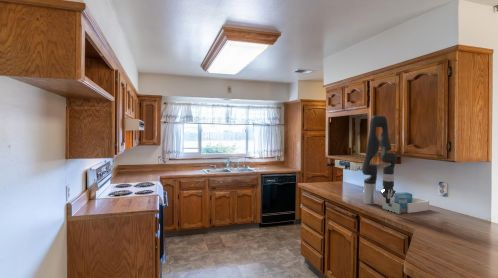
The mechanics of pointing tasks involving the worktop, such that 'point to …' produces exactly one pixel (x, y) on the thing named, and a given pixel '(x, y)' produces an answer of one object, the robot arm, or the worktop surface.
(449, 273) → the worktop surface
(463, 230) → the worktop surface
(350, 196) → the worktop surface
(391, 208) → the drawer
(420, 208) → the cubby
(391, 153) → the robot arm
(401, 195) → the data package
